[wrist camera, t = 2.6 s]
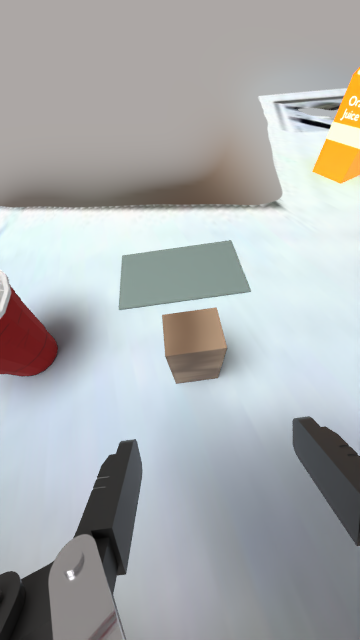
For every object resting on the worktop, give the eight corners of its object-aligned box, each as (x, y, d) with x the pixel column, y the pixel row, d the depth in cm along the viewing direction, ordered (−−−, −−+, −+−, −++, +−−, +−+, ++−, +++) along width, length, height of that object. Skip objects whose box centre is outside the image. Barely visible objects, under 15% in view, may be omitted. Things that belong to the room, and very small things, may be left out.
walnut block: (211, 347, 26) (216, 307, 18) (217, 378, 23) (227, 347, 16) (173, 352, 26) (162, 314, 18) (176, 383, 24) (165, 356, 16)
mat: (230, 241, 36) (231, 240, 36) (250, 291, 30) (250, 290, 29) (122, 256, 36) (122, 255, 36) (119, 309, 30) (118, 309, 30)
